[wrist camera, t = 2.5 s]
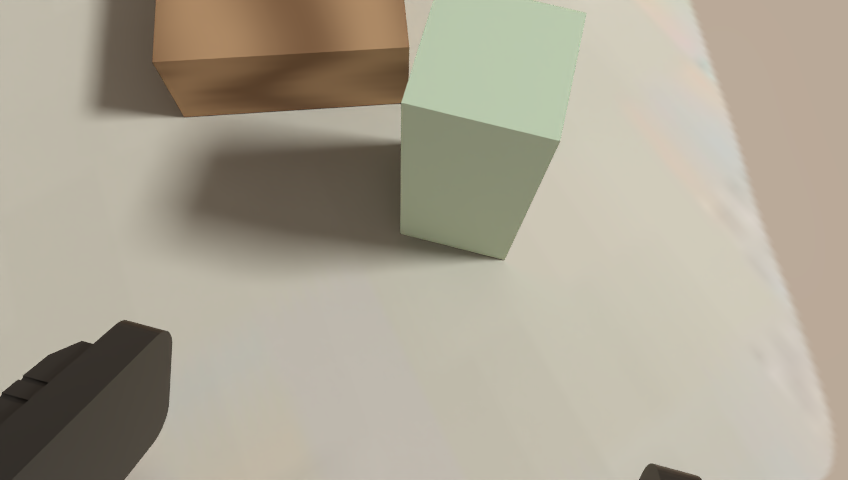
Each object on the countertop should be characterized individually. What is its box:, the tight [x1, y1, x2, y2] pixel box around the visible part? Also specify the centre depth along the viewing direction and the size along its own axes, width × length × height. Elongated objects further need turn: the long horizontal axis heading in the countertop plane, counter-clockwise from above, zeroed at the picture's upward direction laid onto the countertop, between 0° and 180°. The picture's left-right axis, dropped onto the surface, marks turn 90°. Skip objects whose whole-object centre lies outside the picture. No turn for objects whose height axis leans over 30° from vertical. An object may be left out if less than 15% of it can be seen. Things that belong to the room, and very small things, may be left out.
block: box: [400, 0, 586, 260], centre depth 23 cm, size 4×4×10 cm
